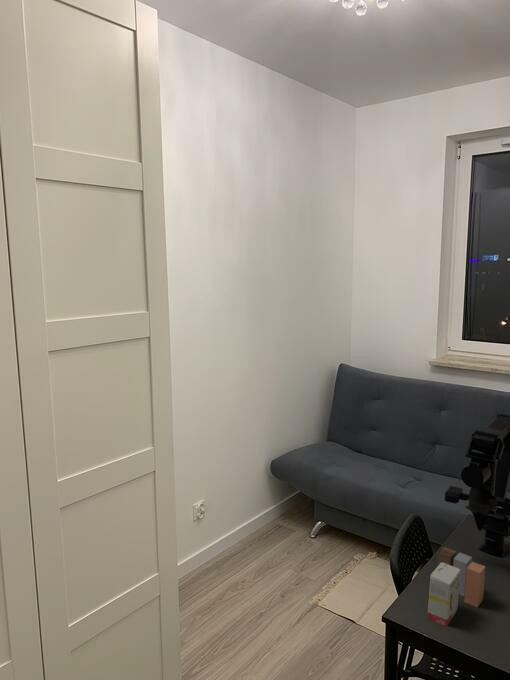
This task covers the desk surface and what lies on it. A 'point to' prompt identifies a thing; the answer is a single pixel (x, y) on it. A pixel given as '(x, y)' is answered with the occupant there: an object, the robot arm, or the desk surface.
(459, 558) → the slate block
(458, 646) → the desk surface
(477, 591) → the terracotta block
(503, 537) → the robot arm
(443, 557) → the walnut block
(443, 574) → the ink box
